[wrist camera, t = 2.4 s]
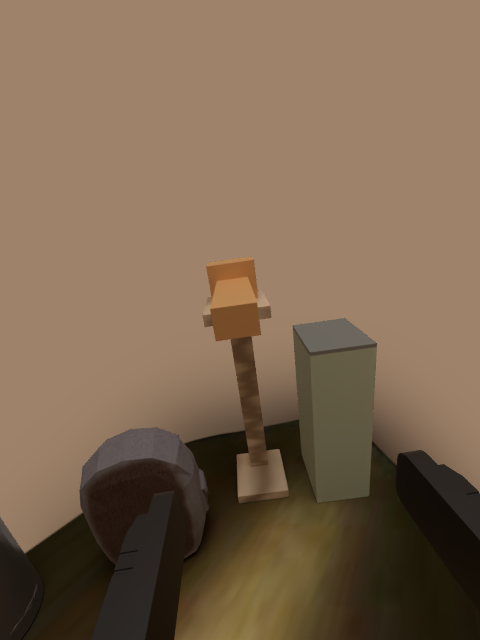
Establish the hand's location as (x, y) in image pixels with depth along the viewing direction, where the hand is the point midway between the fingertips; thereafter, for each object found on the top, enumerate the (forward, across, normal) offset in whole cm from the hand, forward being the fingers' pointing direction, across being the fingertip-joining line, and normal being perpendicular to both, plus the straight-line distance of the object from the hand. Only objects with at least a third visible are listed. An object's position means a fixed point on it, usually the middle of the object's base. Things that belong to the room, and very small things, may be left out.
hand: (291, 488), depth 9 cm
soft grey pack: (+21, -15, -31) cm, 41 cm away
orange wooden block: (+22, -1, +1) cm, 22 cm away
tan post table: (+28, 0, -31) cm, 41 cm away
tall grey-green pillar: (+26, +12, -31) cm, 42 cm away
